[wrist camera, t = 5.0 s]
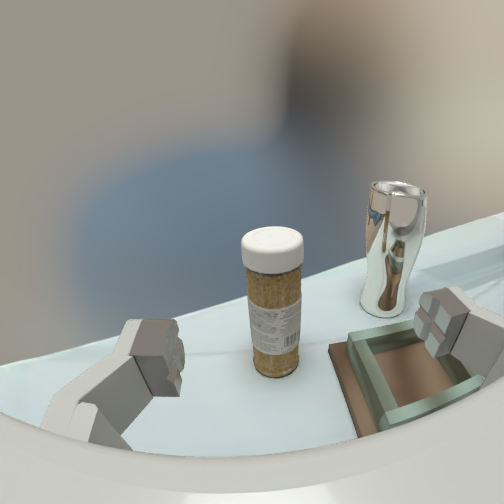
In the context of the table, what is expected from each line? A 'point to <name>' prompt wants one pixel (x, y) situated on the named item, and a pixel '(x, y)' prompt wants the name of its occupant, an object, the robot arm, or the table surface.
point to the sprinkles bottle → (274, 297)
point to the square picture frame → (396, 377)
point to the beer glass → (392, 244)
